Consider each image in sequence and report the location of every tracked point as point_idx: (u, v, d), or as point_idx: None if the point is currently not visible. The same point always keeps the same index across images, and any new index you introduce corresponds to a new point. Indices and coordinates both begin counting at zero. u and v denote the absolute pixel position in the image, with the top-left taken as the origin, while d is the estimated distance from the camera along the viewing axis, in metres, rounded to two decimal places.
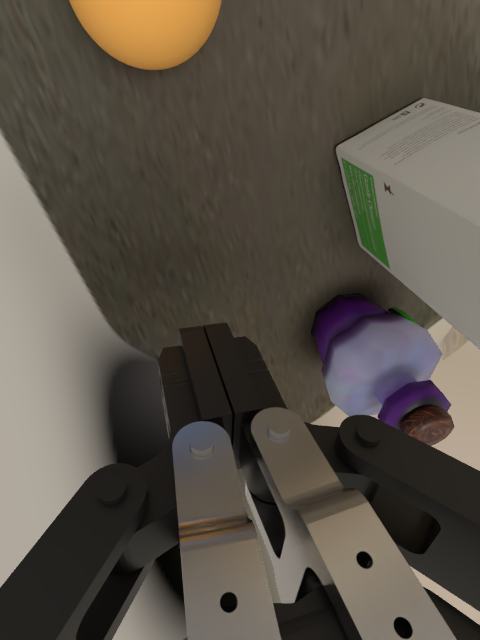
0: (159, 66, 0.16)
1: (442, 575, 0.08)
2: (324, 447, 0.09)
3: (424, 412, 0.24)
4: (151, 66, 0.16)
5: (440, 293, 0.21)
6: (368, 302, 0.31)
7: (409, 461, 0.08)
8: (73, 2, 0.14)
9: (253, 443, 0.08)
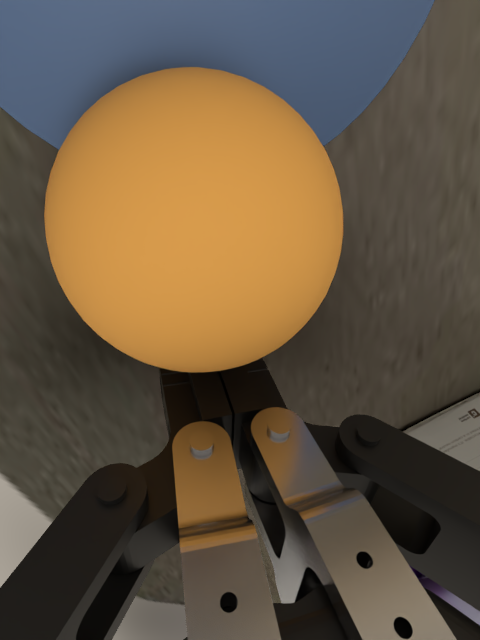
0: (226, 204, 0.06)
1: (442, 575, 0.08)
2: (324, 447, 0.09)
3: None
4: (204, 205, 0.06)
5: None
6: None
7: (409, 461, 0.08)
8: (45, 208, 0.07)
9: (253, 443, 0.08)
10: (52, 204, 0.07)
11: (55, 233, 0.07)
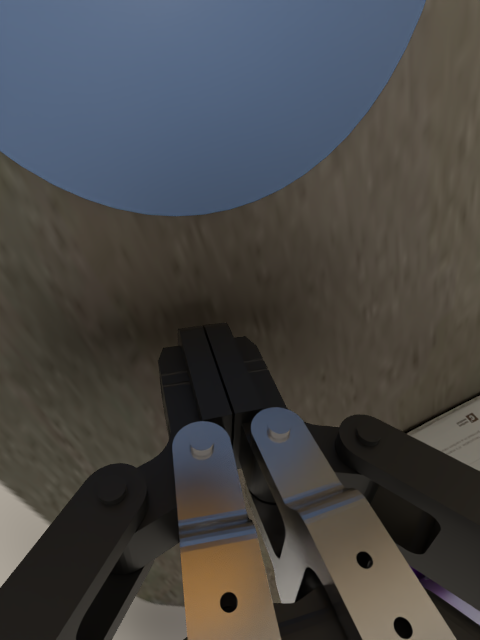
0: None
1: (442, 575, 0.08)
2: (324, 447, 0.09)
3: None
4: None
5: None
6: None
7: (409, 461, 0.08)
8: None
9: (253, 443, 0.08)
10: None
11: None
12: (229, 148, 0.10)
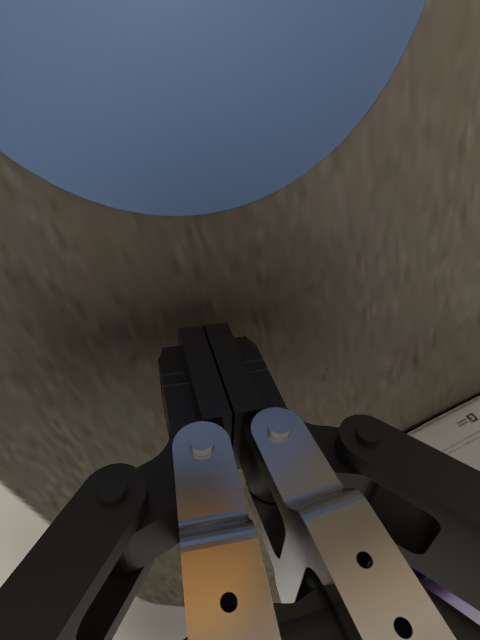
0: None
1: (442, 575, 0.08)
2: (324, 447, 0.09)
3: None
4: None
5: None
6: None
7: (409, 461, 0.08)
8: None
9: (253, 443, 0.08)
10: None
11: None
12: (229, 148, 0.10)
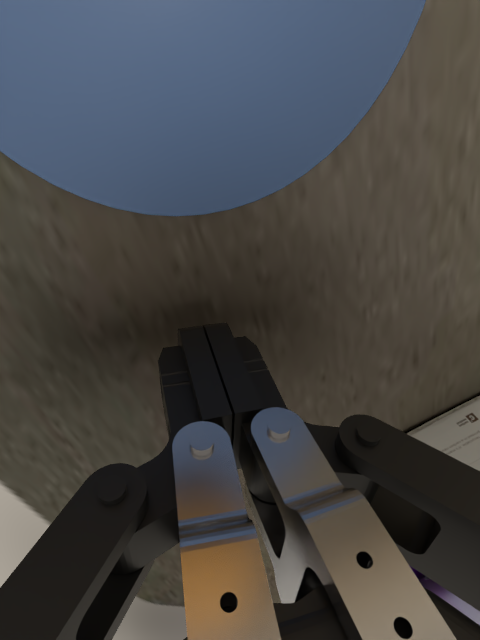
0: None
1: (442, 575, 0.08)
2: (324, 447, 0.09)
3: None
4: None
5: None
6: None
7: (409, 461, 0.08)
8: None
9: (253, 443, 0.08)
10: None
11: None
12: (229, 148, 0.10)
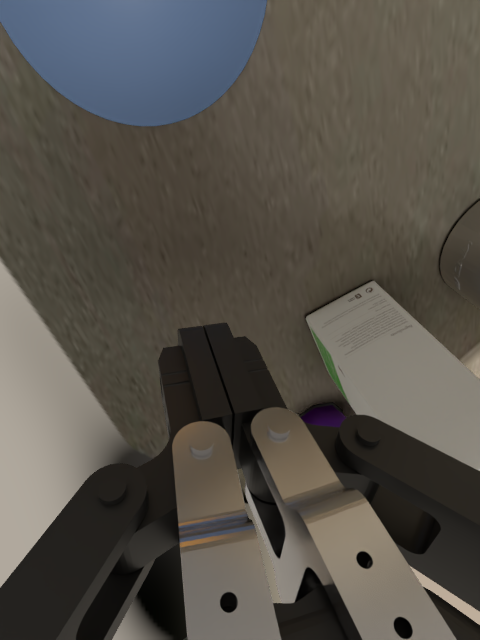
0: None
1: (442, 575, 0.08)
2: (324, 447, 0.09)
3: None
4: None
5: None
6: (337, 412, 0.38)
7: (409, 461, 0.08)
8: None
9: (253, 443, 0.08)
10: None
11: None
12: (167, 86, 0.20)
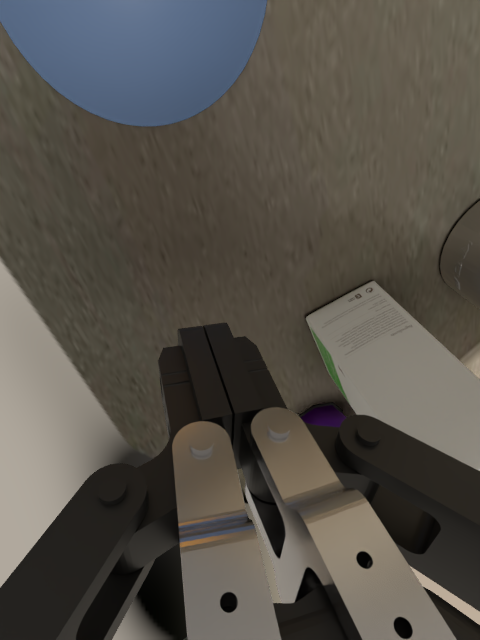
0: None
1: (442, 575, 0.08)
2: (324, 447, 0.09)
3: None
4: None
5: None
6: (337, 412, 0.38)
7: (409, 461, 0.08)
8: None
9: (253, 443, 0.08)
10: None
11: None
12: (167, 87, 0.20)
